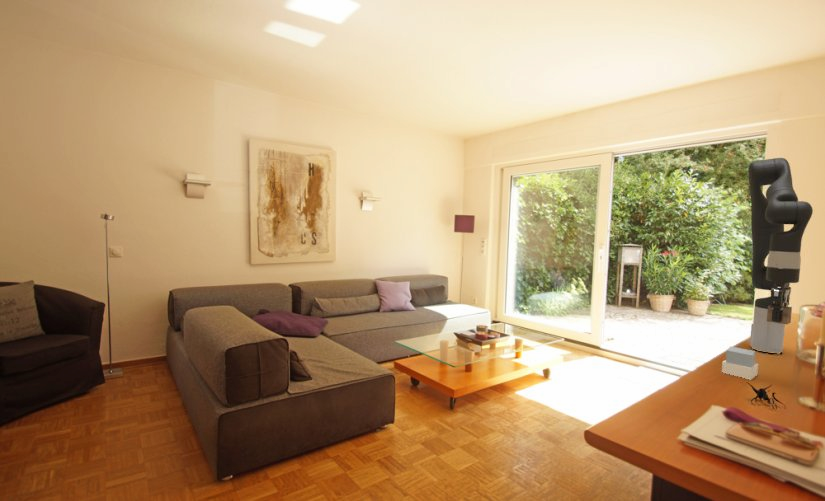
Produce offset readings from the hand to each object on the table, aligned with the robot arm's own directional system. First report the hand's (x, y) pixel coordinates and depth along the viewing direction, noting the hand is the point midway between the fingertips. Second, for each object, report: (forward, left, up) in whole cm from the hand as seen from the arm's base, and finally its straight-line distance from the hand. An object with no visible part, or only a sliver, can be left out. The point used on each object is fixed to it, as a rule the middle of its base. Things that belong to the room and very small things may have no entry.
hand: (778, 320), depth 125 cm
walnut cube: (0, 0, 0) cm, 0 cm away
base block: (-5, -7, -20) cm, 21 cm away
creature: (+20, -16, -20) cm, 32 cm away
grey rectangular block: (-5, -7, -16) cm, 18 cm away
